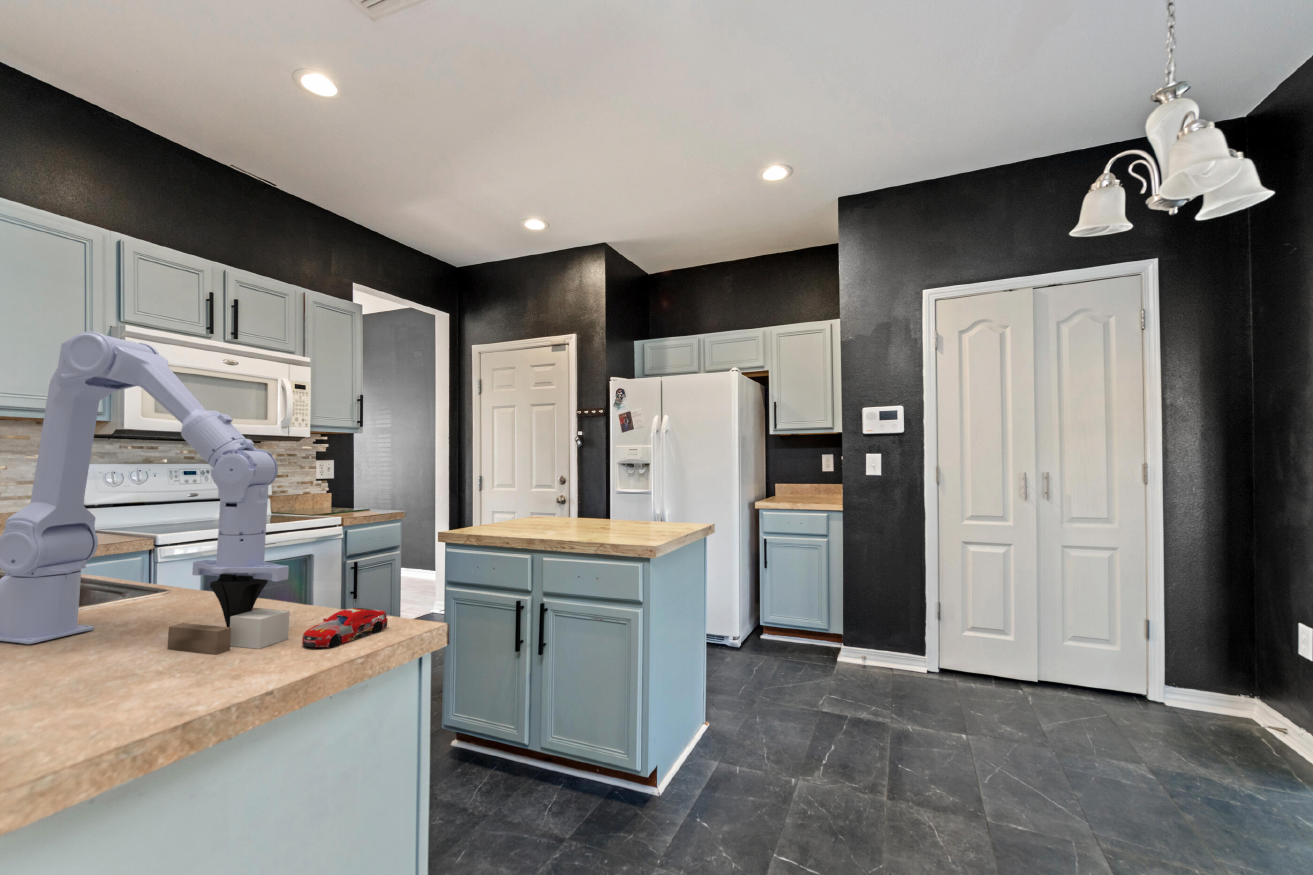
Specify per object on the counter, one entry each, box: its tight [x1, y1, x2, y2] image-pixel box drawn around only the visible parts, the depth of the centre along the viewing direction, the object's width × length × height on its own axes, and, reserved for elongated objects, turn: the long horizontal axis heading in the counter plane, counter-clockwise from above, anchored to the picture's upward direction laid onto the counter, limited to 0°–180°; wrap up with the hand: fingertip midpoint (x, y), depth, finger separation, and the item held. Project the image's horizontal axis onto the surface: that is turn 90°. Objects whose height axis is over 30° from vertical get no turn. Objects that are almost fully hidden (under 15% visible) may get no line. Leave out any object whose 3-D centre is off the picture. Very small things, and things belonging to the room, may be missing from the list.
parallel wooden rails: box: [166, 607, 287, 655], centre depth 88 cm, size 8×12×3 cm, turn 168°
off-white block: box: [230, 608, 290, 650], centre depth 87 cm, size 5×5×4 cm
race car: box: [301, 607, 388, 649], centre depth 90 cm, size 13×5×4 cm, turn 160°
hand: (237, 628), depth 87 cm, fingers closed
